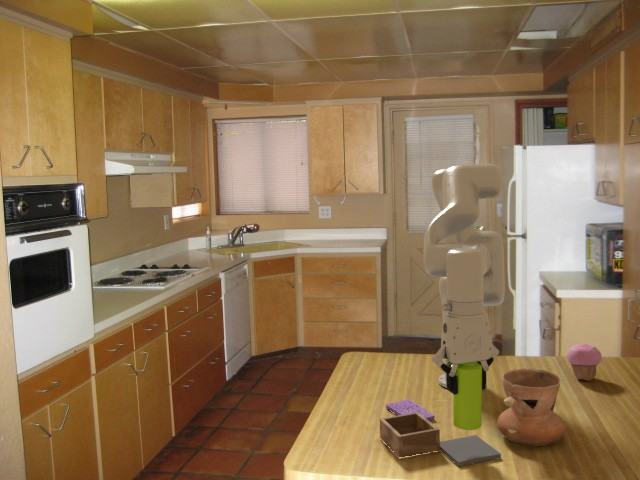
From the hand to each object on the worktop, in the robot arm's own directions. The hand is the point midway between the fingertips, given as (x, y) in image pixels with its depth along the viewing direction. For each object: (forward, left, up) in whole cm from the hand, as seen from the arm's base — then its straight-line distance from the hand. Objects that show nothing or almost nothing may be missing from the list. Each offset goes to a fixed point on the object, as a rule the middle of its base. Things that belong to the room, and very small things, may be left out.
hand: (466, 389), depth 140 cm
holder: (-8, -10, -14) cm, 19 cm away
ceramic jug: (-1, +17, -14) cm, 22 cm away
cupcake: (-27, +52, -14) cm, 60 cm away
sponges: (-24, -2, -15) cm, 28 cm away
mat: (0, 0, -14) cm, 14 cm away
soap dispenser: (0, 0, -8) cm, 8 cm away
